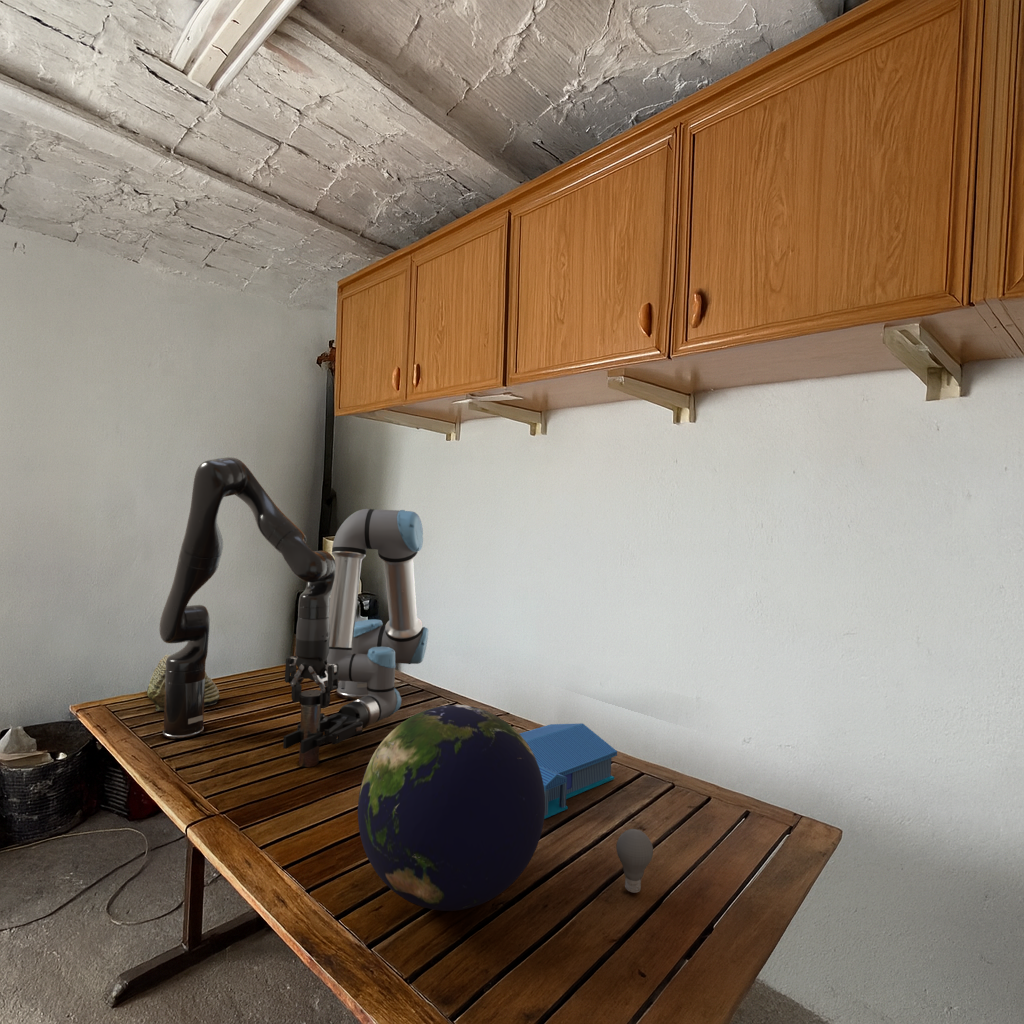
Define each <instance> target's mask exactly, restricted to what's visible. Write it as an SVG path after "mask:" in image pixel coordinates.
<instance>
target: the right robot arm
mask: <svg viewBox="0 0 1024 1024" xmlns="http://www.w3.org/2000/svg"><path fill="white" fill-rule="evenodd" d="M423 544H424V530H423V523H422V520H421V518H420V516H419V514H418V513H417V512H415V511H411V510H405V509H399V510H397V509H377V508H375V509H374V508H373V509H372V508H362V509H359V510H356V511H355V512H353V513H352V514H350V515H349V516H348V517H347V518H346V519H345V520H344V521H343V522H342V524H341V525H340V526H339V528H338V529H337V531H336V533H335V536H334V539H333V541H332V547H331V555H332V556H333V558H334V560H335V564H336V574H335V579H334V584H333V588H332V592H331V595H330V611H329V622H330V639H329V654H328V657H327V662H328V664H336V663H337V664H338V665H339V679H338V689H336V695H337V696H338V698H342V699H345V700H352V701H350V702H349V703H346V704H344V705H342V706H341V707H340V708H339V710H338V711H337V712H336V713H334V714H330V716H326V715H325V713H324V712H321V719H320V732H319V733H317V734H315V735H313V736H311V737H309V738H306V739H304V740H302V741H301V753H305V752H307V751H309V750H311V749H313V748H315V747H317V746H319V747H321V746H322V745H324V744H325V745H327V744H330V743H331V745H338V744H339V743H342V742H344V741H346V740H347V739H350V738H351V737H354V736H356V735H359V734H362V733H363V730H364V729H366V728H367V727H370V726H371V725H373V724H375V723H378V722H380V721H382V720H384V719H387V718H389V717H390V716H392V715H394V714H395V713H397V712H398V711H399V709H400V708H401V706H402V696H401V695H400V692H399V690H397V688H395V681H396V680H395V679H396V677H395V676H396V666H397V664H403V665H418V664H421V663H422V662H423V661H424V658H425V654H426V650H427V644H428V639H429V628H428V627H426V626H423V622H422V620H421V619H420V618H419V617H418V613H417V612H418V611H417V597H416V595H417V594H416V583H415V566H414V565H415V564H414V559H415V558H416V557H417V556H418V554H419V552H420V551H421V550H422V549H423ZM367 550H377V553H378V554H377V555H378V557H379V560H381V561H383V563H384V564H383V565H384V576H385V585H386V597H387V609H388V619H389V620H388V621H387V622H386V624H385V625H383V624H384V623H383V621H382V620H381V619H375V618H374V619H363V620H357V621H356V616H357V606H358V598H359V588H360V579H361V571H362V561H363V559H365V558H366V557H367ZM326 671H327V670H326ZM327 674H328V673H327ZM320 679H323V677H321V678H320ZM300 724H301V722H300V723H298V724H297V728H296V731H293V732H291V733H289V734H286V735H284V736H283V741H282V742H283V743H282V744H283V746H282V748H283V749H285V750H286V749H289V748H291V747H293V746H295V745H297V744H300Z"/></svg>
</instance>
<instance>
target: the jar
mask: <svg viewBox="0 0 1024 1024" xmlns="http://www.w3.org/2000/svg"><path fill="white" fill-rule="evenodd" d="M321 713H322V708H320V704H318V705H302V704H300V723H301V724H300V723H299V724H300V742H299V749H298V765H299V766H300V767H303V768H311V767H315V766H317V765H318V764H319V763H320V746H317V747H315V748H313V749H311V750H309V751H307V752H305V753H301V741H302V740H304V739H306V738H309V737H311V736H313V735H315V734H317V733H319V732H320V719H321Z"/></svg>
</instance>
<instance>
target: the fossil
mask: <svg viewBox="0 0 1024 1024" xmlns="http://www.w3.org/2000/svg"><path fill="white" fill-rule="evenodd" d="M171 655H172V654H165V655H164V656H163V657H162V658H161V659H160V660H159V662H158V663H157V666H156V667H155V669H154V670H153V672H152V675H151V677H150V680H149V684H148V686H149V688H148V687H147V689H148V694H147V693H146V695H147V697H148V699H149V700H150V701H152V703H153V704H154V706H155V711H158V712H159V711H162V712H163V711H164V705H165V674H166V660H167V658H168V657H169V656H171ZM220 698H221V696H220V690H219V688H218V686H217V685H216V683H215V682H214V681H213V679H212V678H211V677H209V675H208V674H207V672H206V671H205V693H204V707H207V706H213V705H215V704H217V703H218V701H219V699H220Z"/></svg>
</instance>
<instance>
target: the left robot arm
mask: <svg viewBox="0 0 1024 1024" xmlns="http://www.w3.org/2000/svg"><path fill="white" fill-rule="evenodd" d="M229 496H236V497H237V498H239V499H240V500H241V501H242V502H244V504H246V506H247V507H248V508H249V509H250V510H251V512H252V514H253V517H254V521H255V524H256V526H257V528H258V530H259V533H260V534H261V536H262V537H263V538H264V539H265V540H266V541H267V542H268V543H269V544H270V545H271V546H272V547H273V548H274V549H276V551H277V552H278V553H279V554H281V556H282V557H283V560H284V561H285V562H286V564H287V566H288V567H289V569H290V570H291V571H292V573H293V574H294V575H295V576H296V577H297V578H298V579H300V580H301V581H302V582H306V586H305V589H304V591H303V592H302V593H301V594H300V595H299V598H298V609H297V611H298V613H297V622H296V632H295V633H296V634H295V655H293V656H289V657H287V658H286V659H285V667H284V668H285V670H284V682H285V683H286V684H287V683H288V684H290V687H291V694H290V695H291V701H292V703H298V702H299V695H300V693H301V692H302V689H303V688H302V687H303V685H302V683H303V681H304V680H307V679H308V680H310V681H314V682H315V684H316V685H317V686H318V687H319V690H320V691H321V693H320V708H321V709H323V710H324V709H326V708H328V707H329V706H330V704H331V693H332V692H333V691H335V690H337V689H338V683H339V681H338V679H339V665H338V664H337V663H336V664H328V662H327V657H328V654H329V639H330V622H329V611H330V596H331V592H332V588H333V584H334V579H335V574H336V564H335V557H334V556H333V555H332V553H330V552H329V551H327V550H316V551H315V550H314V551H313V550H312V549H311V547H309V545H308V544H307V535H305V534H304V532H303V531H302V530H301V529H300V528H299V527H298V526H297V525H296V524H295V523H294V522H293V521H292V520H291V519H290V518H289V517H288V516H287V515H286V514H284V512H283V511H282V510H281V509H280V508H279V507H278V506H277V505H276V503H275V502H274V501H273V500H272V498H271V497H270V495H269V494H268V493H267V491H266V490H265V489H264V487H263V486H262V485H261V484H260V482H259V481H258V479H257V478H256V476H254V473H252V471H251V470H250V469H249V468H248V466H247V465H246V464H245V463H244V462H243V461H242V460H241V459H240V458H237V457H232V456H231V457H229V456H228V457H221V458H214V459H213V458H212V459H208V460H204V461H203V462H201V463H200V464H199V465H198V466H197V469H196V470H195V474H194V478H193V484H192V492H191V501H190V507H189V508H190V509H189V514H188V518H187V523H186V528H185V531H184V532H185V533H184V537H183V540H182V543H181V546H180V551H179V554H178V559H177V563H176V564H177V565H176V568H175V569H176V570H175V572H174V577H173V581H172V584H171V588H170V591H169V593H168V596H167V599H166V600H165V601H166V602H165V604H164V606H163V610H162V613H161V616H160V619H159V620H160V621H159V629H158V630H159V636H160V638H161V641H163V642H164V643H166V644H180V643H181V644H183V643H186V644H185V646H184V647H182V648H181V649H180V650H178V651H176V652H174V653H172V654H170V655H171V656H169V657H168V658H167V660H166V674H165V705H164V710H163V730H162V737H164V738H166V739H169V740H185V739H190V738H191V739H192V738H194V737H197V736H199V735H202V734H203V732H204V730H205V729H204V726H205V725H204V722H205V721H204V718H205V706H204V693H205V672H206V664H207V663H206V662H207V658H208V653H209V652H208V651H209V639H210V629H211V618H210V613H209V610H208V608H207V607H206V606H205V605H203V604H192V605H191V604H190V605H189V603H190V600H191V599H192V597H193V596H194V595H195V594H196V593H197V592H198V591H199V590H201V588H202V587H203V586H204V585H206V583H207V582H208V581H209V580H210V579H211V578H212V577H213V576H214V575H215V573H216V572H217V570H218V568H219V566H220V565H219V564H220V562H221V558H222V553H223V550H224V539H223V535H222V533H221V529H220V527H219V525H218V514H219V511H220V507H221V504H222V501H223V499H224V498H225V497H229ZM326 670H327V671H326ZM327 673H328V674H327ZM321 677H323V679H320V678H321ZM148 688H149V685H148V686H147V689H146V695H147V694H148Z"/></svg>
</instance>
